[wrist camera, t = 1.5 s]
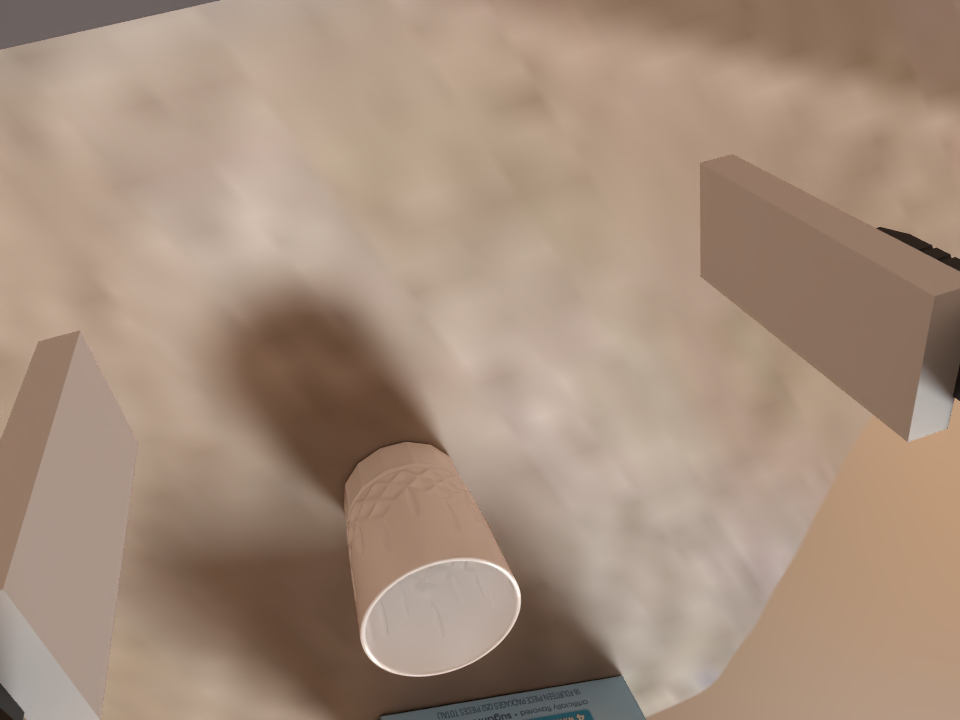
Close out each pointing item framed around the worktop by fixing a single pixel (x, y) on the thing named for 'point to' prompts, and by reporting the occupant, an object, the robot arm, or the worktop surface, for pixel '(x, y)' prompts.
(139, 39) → the worktop surface
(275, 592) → the worktop surface
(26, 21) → the rocker switch panel
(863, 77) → the worktop surface
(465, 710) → the gum box
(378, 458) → the white cup
